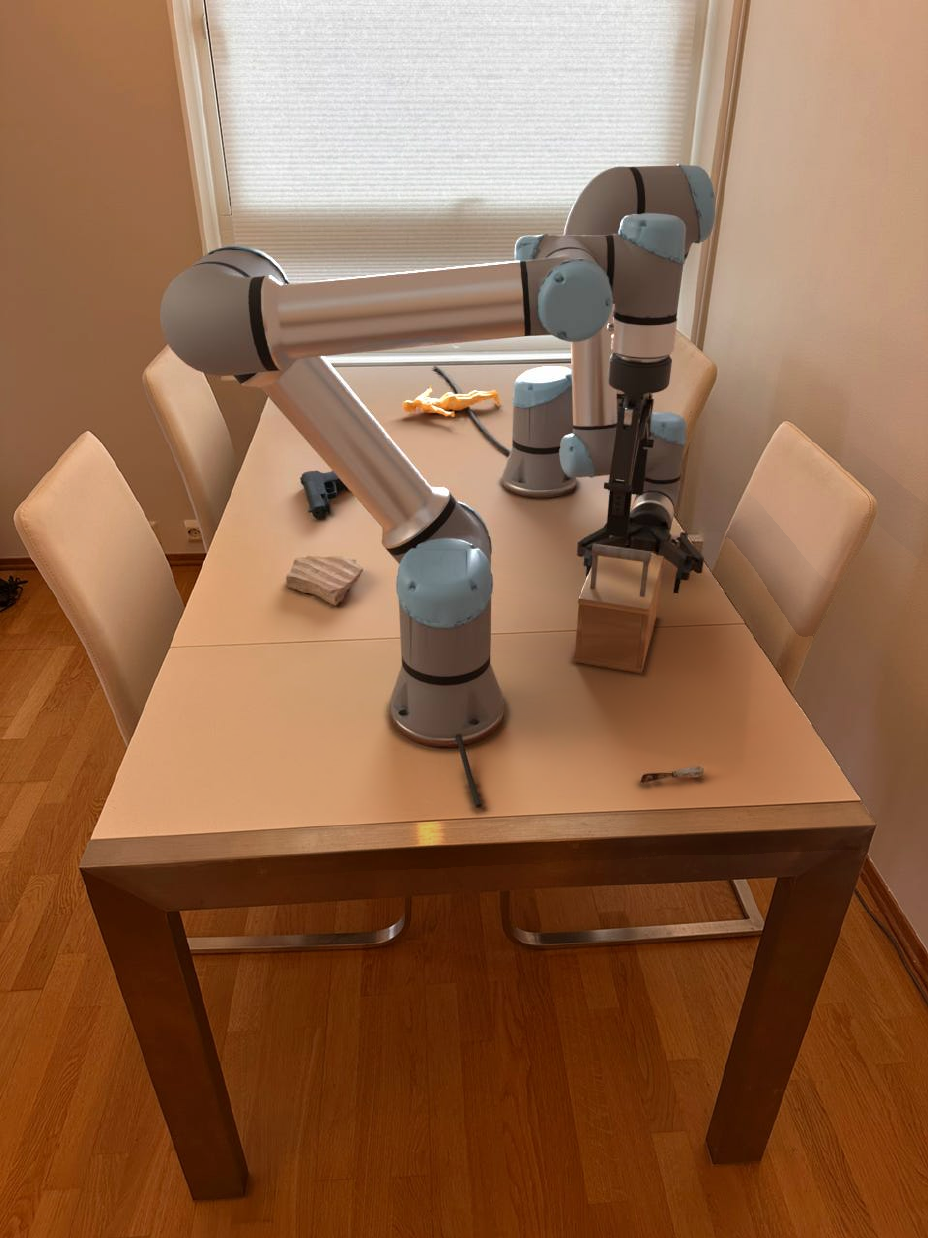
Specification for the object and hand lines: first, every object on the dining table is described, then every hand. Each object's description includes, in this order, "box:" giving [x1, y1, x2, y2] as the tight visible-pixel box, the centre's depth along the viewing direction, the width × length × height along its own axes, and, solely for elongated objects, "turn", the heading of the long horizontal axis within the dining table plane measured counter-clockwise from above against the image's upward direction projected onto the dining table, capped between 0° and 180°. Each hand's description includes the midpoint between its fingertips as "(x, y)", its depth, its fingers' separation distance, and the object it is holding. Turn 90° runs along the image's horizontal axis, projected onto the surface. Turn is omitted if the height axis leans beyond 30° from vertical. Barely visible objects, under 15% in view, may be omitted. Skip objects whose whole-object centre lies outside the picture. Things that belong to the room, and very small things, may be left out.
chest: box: [574, 562, 664, 674], centre depth 133 cm, size 16×10×10 cm, turn 162°
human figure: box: [402, 385, 500, 418], centre depth 225 cm, size 20×20×4 cm
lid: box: [577, 544, 665, 615], centre depth 128 cm, size 16×10×8 cm, turn 162°
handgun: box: [299, 470, 349, 520], centre depth 179 cm, size 3×18×12 cm
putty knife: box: [640, 765, 705, 784], centre depth 109 cm, size 1×8×2 cm, turn 103°
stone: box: [284, 555, 364, 606], centre depth 150 cm, size 13×12×2 cm
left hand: (625, 513), depth 120 cm, fingers open, 13 cm apart
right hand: (632, 579), depth 138 cm, fingers open, 13 cm apart
